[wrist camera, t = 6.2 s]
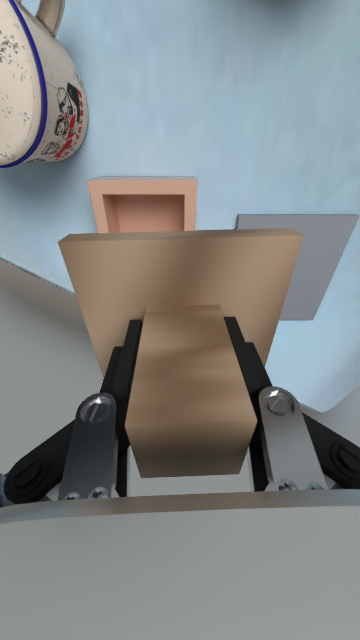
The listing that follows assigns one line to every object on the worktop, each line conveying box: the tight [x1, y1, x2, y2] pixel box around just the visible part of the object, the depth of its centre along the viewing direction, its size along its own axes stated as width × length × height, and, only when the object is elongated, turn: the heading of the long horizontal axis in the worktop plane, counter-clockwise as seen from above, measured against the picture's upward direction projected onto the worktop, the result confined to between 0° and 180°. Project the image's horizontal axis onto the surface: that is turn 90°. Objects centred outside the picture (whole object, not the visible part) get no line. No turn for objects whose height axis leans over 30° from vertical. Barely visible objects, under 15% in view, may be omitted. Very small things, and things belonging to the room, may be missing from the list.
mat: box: [236, 214, 360, 320], centre depth 28 cm, size 13×14×1 cm
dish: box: [87, 176, 197, 233], centre depth 23 cm, size 9×9×5 cm
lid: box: [58, 228, 304, 478], centre depth 10 cm, size 10×10×7 cm
